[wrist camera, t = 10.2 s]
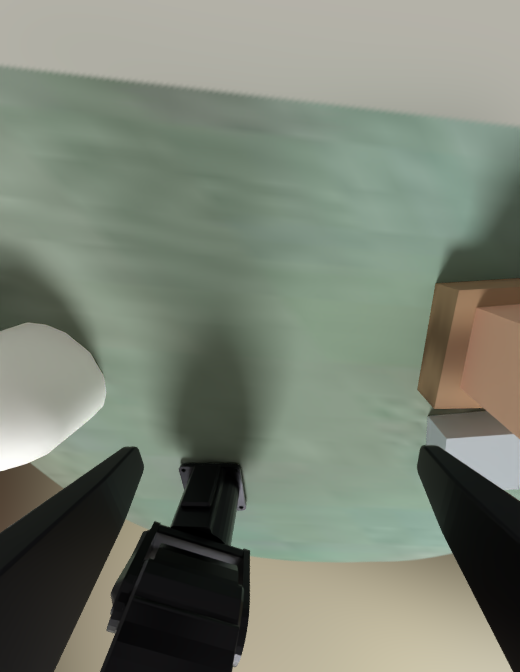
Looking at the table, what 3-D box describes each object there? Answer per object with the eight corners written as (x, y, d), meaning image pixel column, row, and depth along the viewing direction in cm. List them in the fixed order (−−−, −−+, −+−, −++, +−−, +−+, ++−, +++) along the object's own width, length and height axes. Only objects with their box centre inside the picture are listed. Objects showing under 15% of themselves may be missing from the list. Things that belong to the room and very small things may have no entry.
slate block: (490, 459, 24) (518, 489, 21) (422, 463, 24) (440, 492, 22) (500, 407, 21) (533, 432, 19) (426, 413, 22) (446, 438, 20)
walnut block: (529, 384, 21) (567, 406, 18) (414, 386, 22) (434, 408, 19) (569, 273, 17) (623, 280, 15) (432, 282, 18) (459, 290, 16)
